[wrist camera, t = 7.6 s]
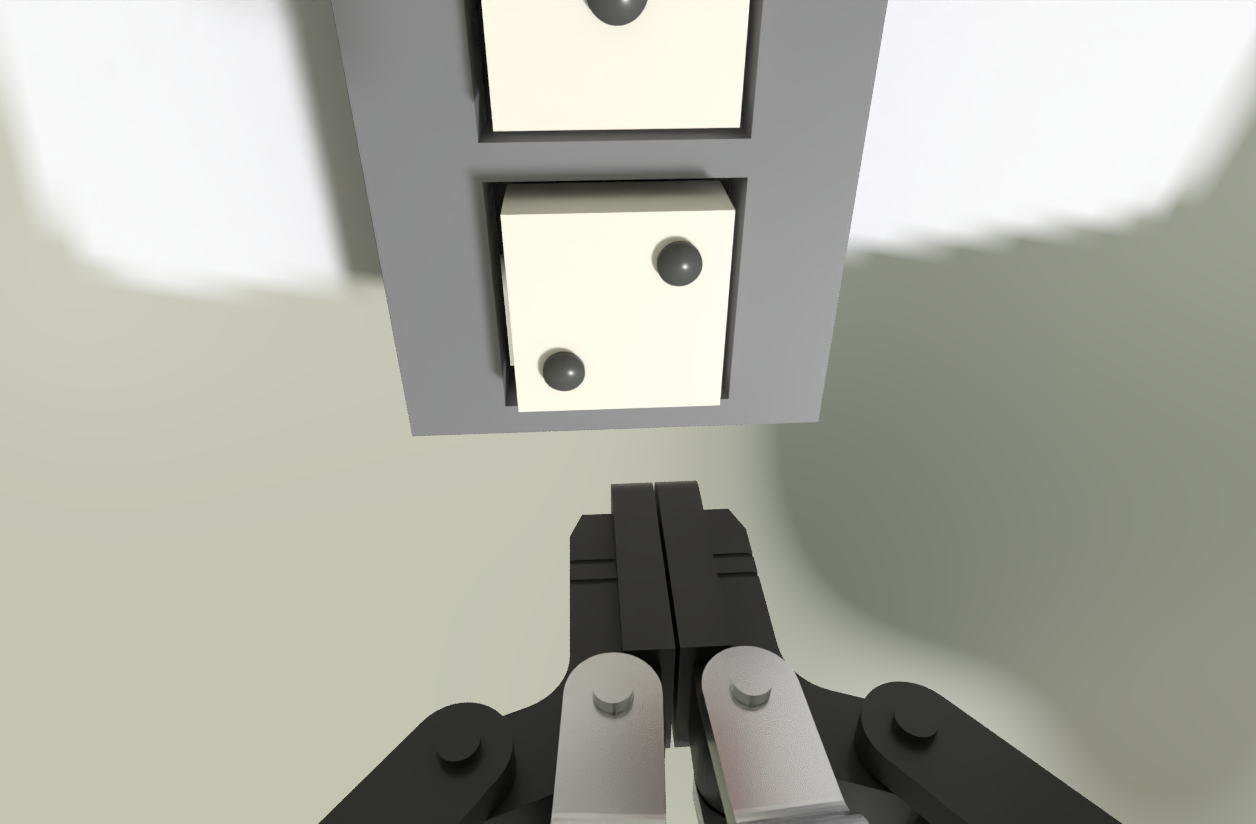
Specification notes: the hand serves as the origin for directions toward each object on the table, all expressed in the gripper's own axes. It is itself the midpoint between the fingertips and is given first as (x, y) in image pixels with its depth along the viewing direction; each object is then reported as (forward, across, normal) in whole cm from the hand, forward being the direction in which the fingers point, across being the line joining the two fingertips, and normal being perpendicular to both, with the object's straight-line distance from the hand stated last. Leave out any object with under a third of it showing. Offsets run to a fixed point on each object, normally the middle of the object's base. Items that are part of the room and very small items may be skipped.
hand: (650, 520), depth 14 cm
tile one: (+12, 0, -7) cm, 14 cm away
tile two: (+11, 0, +1) cm, 12 cm away
